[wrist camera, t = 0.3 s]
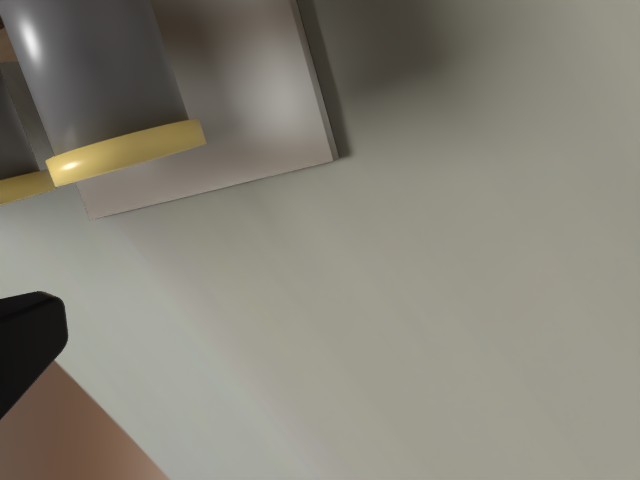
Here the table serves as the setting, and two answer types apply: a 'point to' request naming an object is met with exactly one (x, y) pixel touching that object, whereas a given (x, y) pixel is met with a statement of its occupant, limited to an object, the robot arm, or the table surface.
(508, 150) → the table surface
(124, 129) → the knob right
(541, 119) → the table surface
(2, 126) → the knob left
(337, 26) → the table surface
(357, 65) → the table surface
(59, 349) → the robot arm
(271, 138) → the console
